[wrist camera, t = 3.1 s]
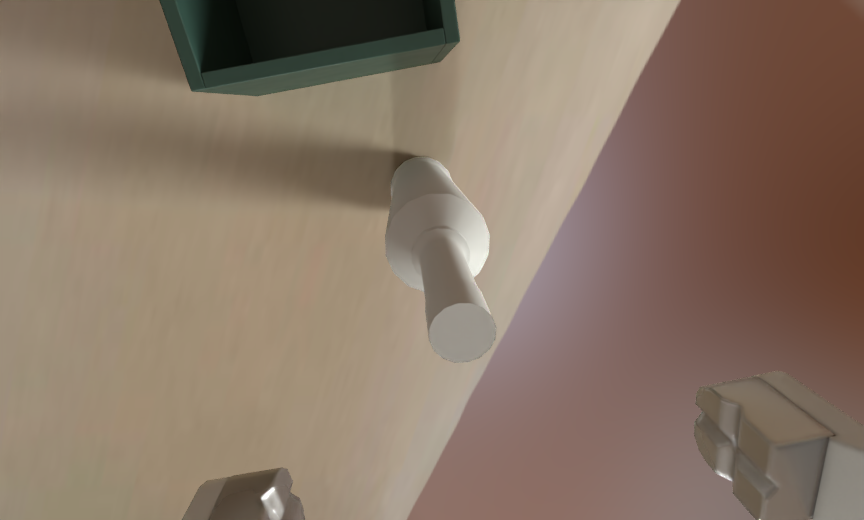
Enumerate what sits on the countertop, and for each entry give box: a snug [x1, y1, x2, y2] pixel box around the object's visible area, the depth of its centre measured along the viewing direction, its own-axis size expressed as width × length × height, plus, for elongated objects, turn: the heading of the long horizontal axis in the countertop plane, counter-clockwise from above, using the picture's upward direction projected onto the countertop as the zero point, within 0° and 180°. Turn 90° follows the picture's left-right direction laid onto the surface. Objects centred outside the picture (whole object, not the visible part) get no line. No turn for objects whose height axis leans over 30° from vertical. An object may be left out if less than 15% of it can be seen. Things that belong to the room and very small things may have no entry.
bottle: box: [385, 157, 496, 363], centre depth 24 cm, size 5×5×25 cm
